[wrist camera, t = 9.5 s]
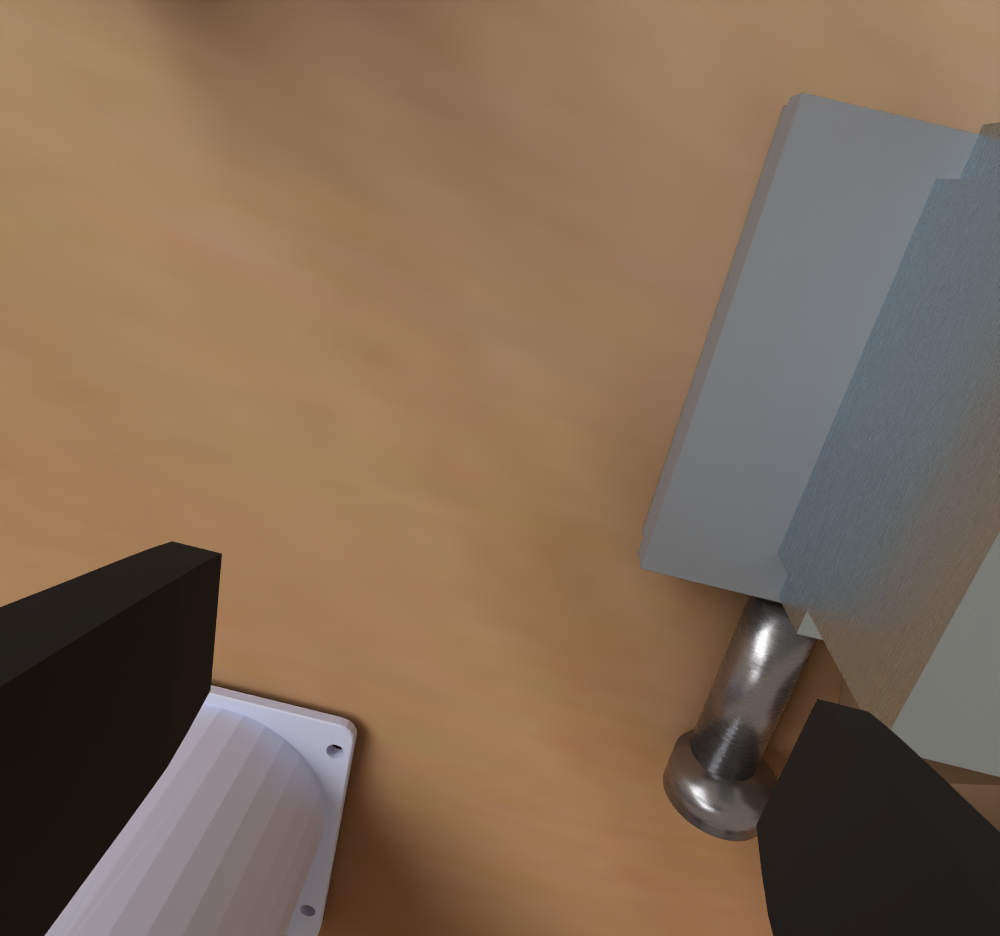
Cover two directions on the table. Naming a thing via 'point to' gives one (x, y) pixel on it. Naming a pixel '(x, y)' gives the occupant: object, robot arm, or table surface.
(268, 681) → the table surface
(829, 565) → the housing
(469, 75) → the table surface
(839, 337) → the stand
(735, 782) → the bolt
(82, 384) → the table surface
